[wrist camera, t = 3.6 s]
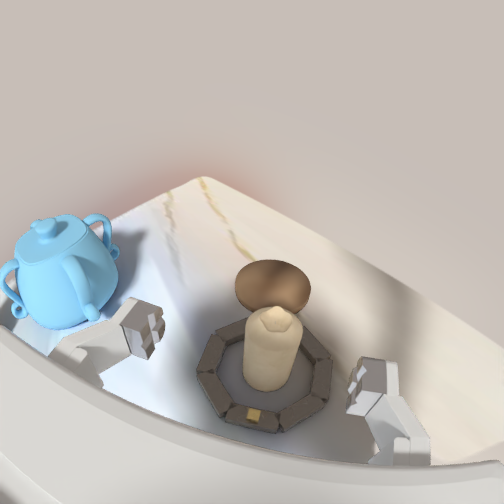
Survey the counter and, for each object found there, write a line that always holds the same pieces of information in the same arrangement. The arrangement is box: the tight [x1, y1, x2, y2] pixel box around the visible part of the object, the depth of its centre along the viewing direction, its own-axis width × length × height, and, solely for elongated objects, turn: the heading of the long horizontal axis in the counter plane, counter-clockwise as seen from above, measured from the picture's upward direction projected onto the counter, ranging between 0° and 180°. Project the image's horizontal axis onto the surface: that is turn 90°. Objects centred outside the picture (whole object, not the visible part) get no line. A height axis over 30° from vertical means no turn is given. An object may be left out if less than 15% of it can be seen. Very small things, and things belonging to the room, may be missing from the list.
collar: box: [196, 317, 333, 434], centre depth 33 cm, size 15×15×2 cm
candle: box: [243, 306, 303, 392], centre depth 30 cm, size 6×6×10 cm
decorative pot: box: [0, 214, 120, 330], centre depth 35 cm, size 16×16×14 cm
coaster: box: [235, 260, 311, 314], centre depth 44 cm, size 11×11×1 cm
